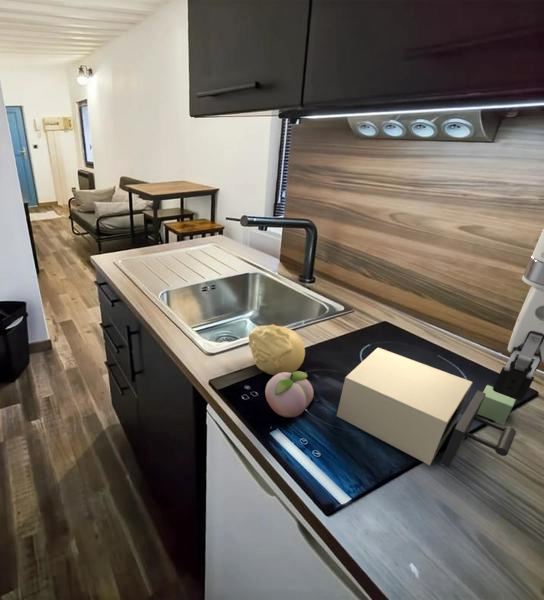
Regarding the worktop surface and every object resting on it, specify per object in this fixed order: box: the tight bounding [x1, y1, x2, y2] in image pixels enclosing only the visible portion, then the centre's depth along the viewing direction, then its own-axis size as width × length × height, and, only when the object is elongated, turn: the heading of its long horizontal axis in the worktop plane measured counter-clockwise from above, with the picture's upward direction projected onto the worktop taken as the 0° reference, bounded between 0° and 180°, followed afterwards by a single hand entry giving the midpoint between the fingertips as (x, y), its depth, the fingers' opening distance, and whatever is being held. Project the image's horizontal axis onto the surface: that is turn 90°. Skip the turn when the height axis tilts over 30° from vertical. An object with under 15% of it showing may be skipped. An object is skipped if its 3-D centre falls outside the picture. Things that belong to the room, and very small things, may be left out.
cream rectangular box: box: [336, 347, 473, 466], centre depth 69 cm, size 16×15×10 cm
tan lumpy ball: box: [248, 323, 306, 377], centre depth 85 cm, size 11×12×11 cm
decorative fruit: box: [264, 370, 314, 418], centre depth 71 cm, size 9×8×10 cm
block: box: [477, 384, 517, 426], centre depth 70 cm, size 4×4×4 cm
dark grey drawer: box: [439, 390, 517, 468], centre depth 65 cm, size 20×13×8 cm
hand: (514, 380), depth 55 cm, fingers open, 9 cm apart
